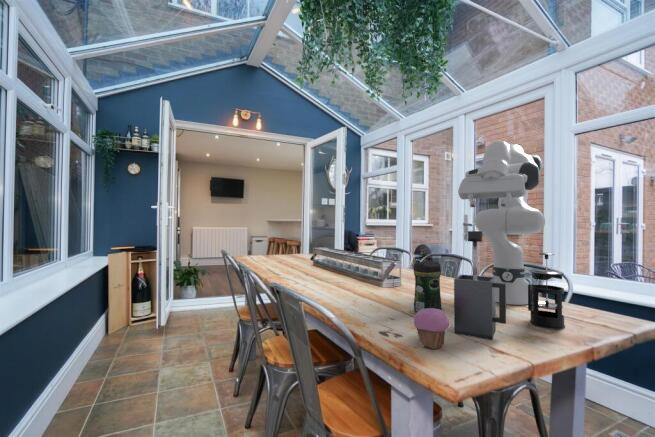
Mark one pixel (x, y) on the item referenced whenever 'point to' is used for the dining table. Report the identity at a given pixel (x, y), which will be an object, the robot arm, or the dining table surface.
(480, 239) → the plunger
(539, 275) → the french press
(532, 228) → the robot arm
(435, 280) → the coffee jar
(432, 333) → the cupcake
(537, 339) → the dining table surface
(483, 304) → the press pot
